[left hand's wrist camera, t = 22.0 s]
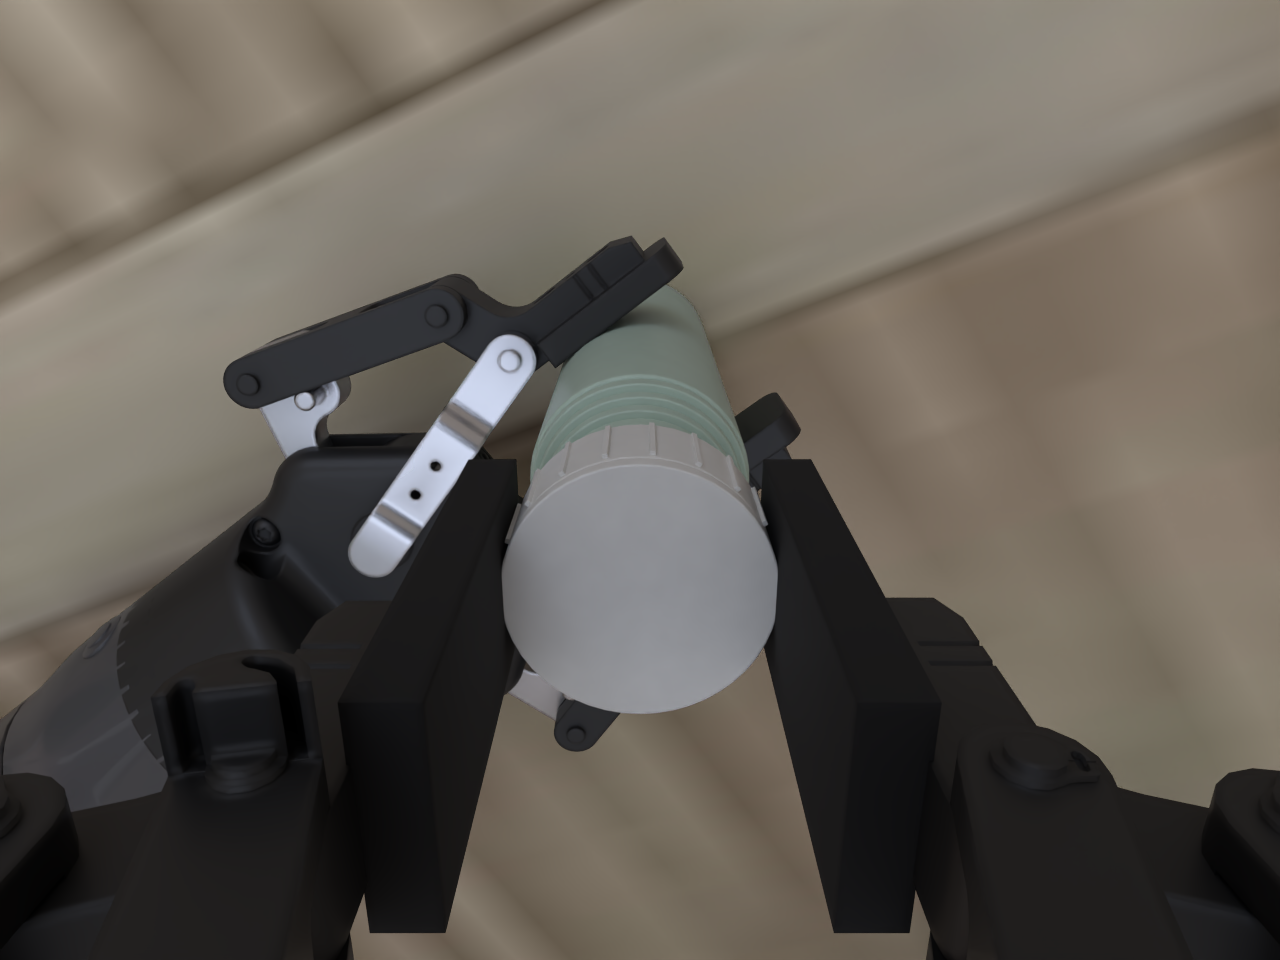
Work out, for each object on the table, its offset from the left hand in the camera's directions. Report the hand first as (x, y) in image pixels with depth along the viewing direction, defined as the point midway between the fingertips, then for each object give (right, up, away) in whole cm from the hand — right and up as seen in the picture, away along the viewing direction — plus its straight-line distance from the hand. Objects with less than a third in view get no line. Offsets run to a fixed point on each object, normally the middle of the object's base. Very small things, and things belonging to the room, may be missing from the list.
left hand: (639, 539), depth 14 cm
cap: (0, -1, -2) cm, 2 cm away
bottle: (0, +5, +14) cm, 15 cm away
